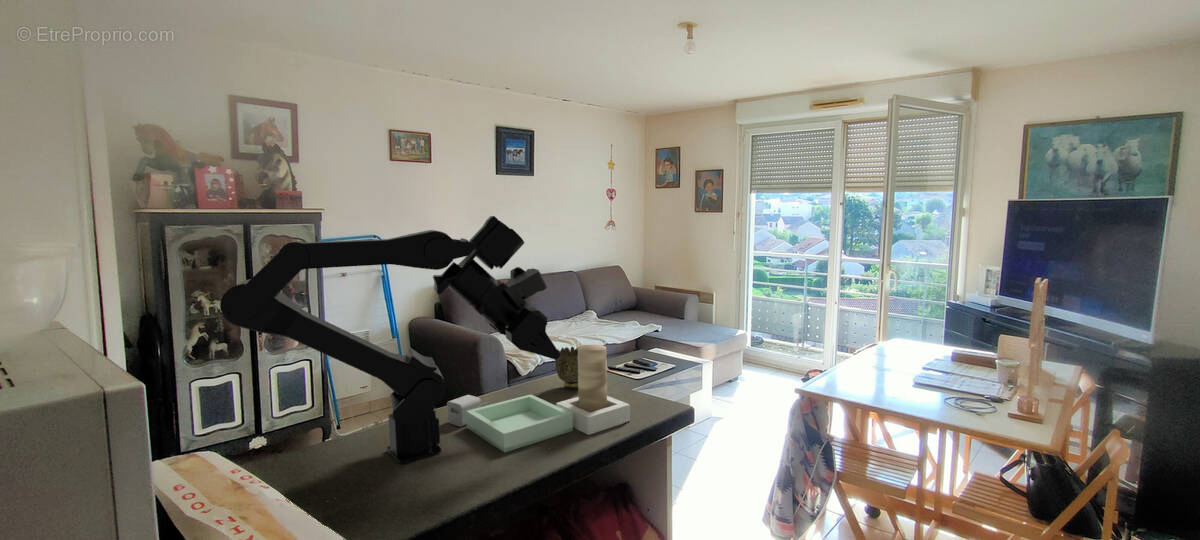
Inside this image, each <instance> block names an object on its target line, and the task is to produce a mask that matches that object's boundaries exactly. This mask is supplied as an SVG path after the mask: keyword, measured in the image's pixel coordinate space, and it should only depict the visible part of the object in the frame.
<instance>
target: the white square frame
mask: <svg viewBox="0 0 1200 540" xmlns="http://www.w3.org/2000/svg"><path fill="white" fill-rule="evenodd" d="M555 406H557V407H560V408H562V409H564V410H566V411H568V412H570V413H573V429H575V430H578V431H579V432H582V433H584V434H586V435H588V436H589V435H592V434H593V435H594V434H595V433H599V432H601V431H605V430H608V429H611V428H613V427H617V426H619V425H622V424H625V422H626V423H629V422H630V421H631V413H630V412H631V408H630V407H631V405H630V403H626V402H625V401H621V400H619V399H616V398H614V397H611V396H609V395H607V408H604V409H600V410H597V411H594V412H591V413H589V412H587V411H585V410H583V409H580V408H579V399H578V396H577V397H573V398H569V399H565V400H562V401H558V402H556V405H555ZM628 421H629V422H628Z"/></svg>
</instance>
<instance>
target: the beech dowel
mask: <svg viewBox="0 0 1200 540" xmlns="http://www.w3.org/2000/svg"><path fill="white" fill-rule="evenodd" d="M577 348H578V389H577V391H578V396H577V397H578V399H579V408H580V409H583V410H585V411H587V412H589V413H591V412H594V411H597V410H600V409H604V408H607V396H608V379H607V378H608V377H607V375H608V374H607V373H608V371H607V370H608V369H607V367H608V366H607V364H608V363H607V358H608V357H607V347H606V346H605V345H601V344H585V345H580V347H579V346H577Z"/></svg>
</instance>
